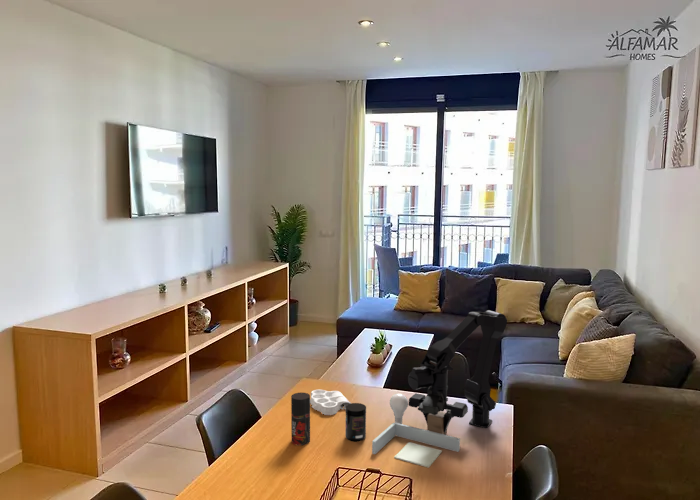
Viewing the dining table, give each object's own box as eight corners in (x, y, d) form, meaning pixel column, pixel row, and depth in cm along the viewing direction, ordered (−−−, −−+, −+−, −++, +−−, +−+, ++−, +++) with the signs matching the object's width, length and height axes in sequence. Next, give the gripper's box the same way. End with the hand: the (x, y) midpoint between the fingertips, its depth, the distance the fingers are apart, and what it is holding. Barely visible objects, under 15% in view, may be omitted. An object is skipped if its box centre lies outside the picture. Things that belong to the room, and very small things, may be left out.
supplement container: (359, 431, 174) (360, 401, 173) (369, 440, 168) (370, 409, 167) (341, 435, 171) (341, 405, 170) (351, 444, 165) (351, 412, 164)
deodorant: (313, 439, 168) (313, 394, 167) (304, 446, 163) (304, 400, 161) (297, 435, 171) (297, 391, 169) (288, 443, 165) (287, 397, 164)
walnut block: (432, 429, 176) (433, 409, 175) (446, 433, 173) (447, 412, 172) (427, 435, 171) (427, 415, 170) (441, 439, 169) (442, 418, 168)
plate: (409, 443, 166) (409, 441, 166) (441, 451, 160) (441, 450, 160) (394, 458, 156) (394, 456, 156) (428, 467, 151) (428, 466, 151)
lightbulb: (406, 429, 175) (407, 398, 174) (388, 427, 177) (388, 396, 175) (408, 421, 182) (409, 391, 180) (390, 420, 183) (390, 389, 182)
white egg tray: (354, 412, 190) (316, 418, 185) (338, 394, 207) (302, 399, 202) (354, 403, 190) (316, 409, 184) (338, 386, 206) (302, 391, 201)
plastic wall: (393, 433, 172) (393, 422, 172) (459, 450, 161) (459, 438, 161) (372, 453, 159) (372, 441, 159) (442, 473, 148) (442, 460, 147)
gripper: (402, 386, 168) (401, 432, 170) (457, 398, 159) (456, 446, 160) (415, 376, 178) (414, 420, 179) (468, 386, 168) (467, 432, 170)
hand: (437, 429), depth 172 cm, fingers closed on walnut block, 5 cm apart
